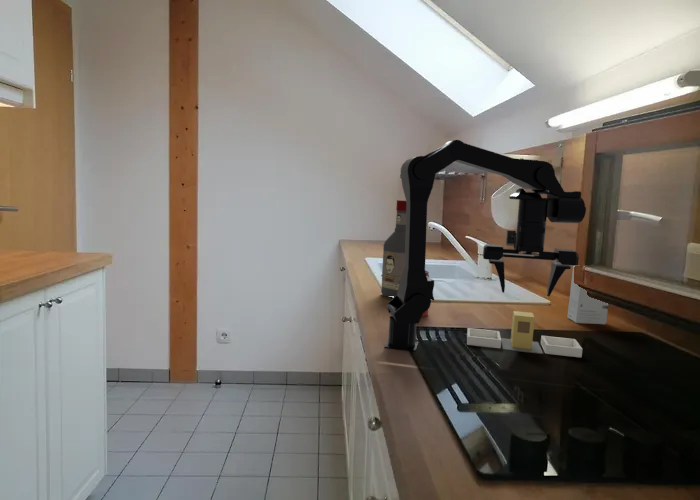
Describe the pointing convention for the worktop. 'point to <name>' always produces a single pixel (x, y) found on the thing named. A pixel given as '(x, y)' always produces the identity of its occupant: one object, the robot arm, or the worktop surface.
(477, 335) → the shallow white dish
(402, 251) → the liquor
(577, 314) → the skincare box
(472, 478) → the worktop surface
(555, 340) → the white square tray
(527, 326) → the tan carton
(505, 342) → the slate coaster
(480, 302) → the worktop surface
